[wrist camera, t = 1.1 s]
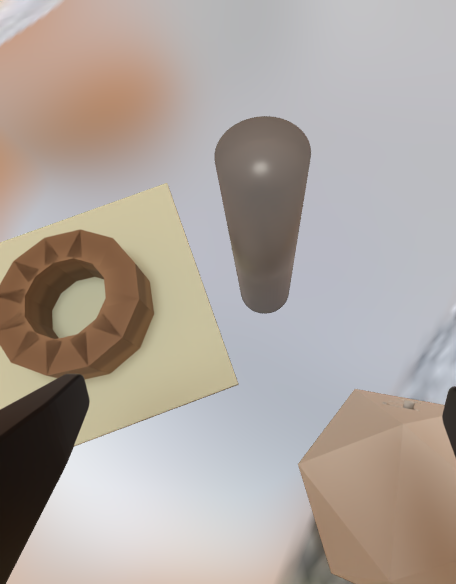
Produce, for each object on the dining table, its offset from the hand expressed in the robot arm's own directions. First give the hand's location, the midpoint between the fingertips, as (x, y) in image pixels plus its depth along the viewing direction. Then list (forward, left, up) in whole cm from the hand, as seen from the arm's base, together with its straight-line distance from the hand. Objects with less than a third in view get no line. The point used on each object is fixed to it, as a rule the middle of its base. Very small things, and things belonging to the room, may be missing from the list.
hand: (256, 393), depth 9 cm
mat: (+3, +13, -13) cm, 19 cm away
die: (-1, -7, -14) cm, 15 cm away
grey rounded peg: (+8, +2, -13) cm, 15 cm away
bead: (+3, +13, -13) cm, 19 cm away
